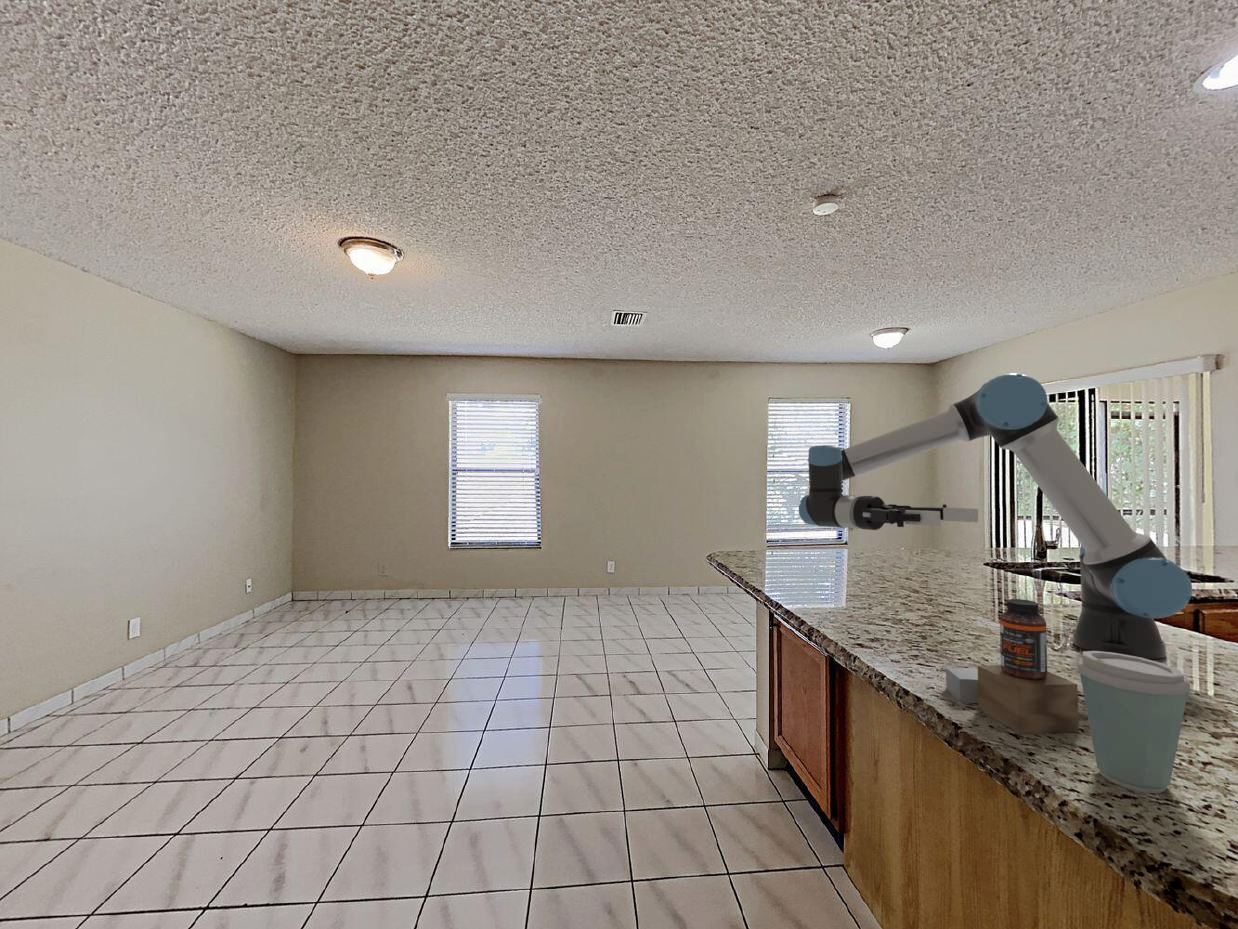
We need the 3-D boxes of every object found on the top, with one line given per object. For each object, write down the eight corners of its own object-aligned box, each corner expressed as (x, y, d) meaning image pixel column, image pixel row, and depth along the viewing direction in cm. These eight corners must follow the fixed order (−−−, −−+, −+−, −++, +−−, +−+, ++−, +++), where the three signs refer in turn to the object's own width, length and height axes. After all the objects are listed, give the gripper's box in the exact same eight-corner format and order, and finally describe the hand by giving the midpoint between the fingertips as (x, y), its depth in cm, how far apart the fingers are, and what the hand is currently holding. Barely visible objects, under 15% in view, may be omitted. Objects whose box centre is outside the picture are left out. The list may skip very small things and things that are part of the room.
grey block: (983, 691, 101) (982, 668, 101) (999, 705, 95) (998, 680, 95) (946, 690, 102) (945, 667, 102) (960, 703, 96) (959, 679, 96)
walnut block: (1032, 707, 93) (1031, 664, 93) (1079, 732, 84) (1077, 684, 84) (978, 709, 93) (977, 665, 93) (1019, 733, 84) (1017, 685, 84)
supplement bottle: (997, 675, 88) (995, 601, 89) (1004, 665, 93) (1002, 595, 93) (1045, 684, 84) (1043, 607, 84) (1050, 673, 89) (1048, 600, 89)
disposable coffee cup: (1128, 757, 76) (1124, 644, 77) (1223, 802, 65) (1217, 671, 66) (1057, 763, 75) (1053, 648, 75) (1141, 810, 64) (1137, 675, 65)
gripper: (895, 526, 135) (992, 532, 117) (825, 532, 122) (922, 540, 104) (894, 494, 135) (990, 496, 117) (824, 497, 122) (921, 499, 104)
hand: (959, 517), depth 110 cm, fingers open, 13 cm apart
